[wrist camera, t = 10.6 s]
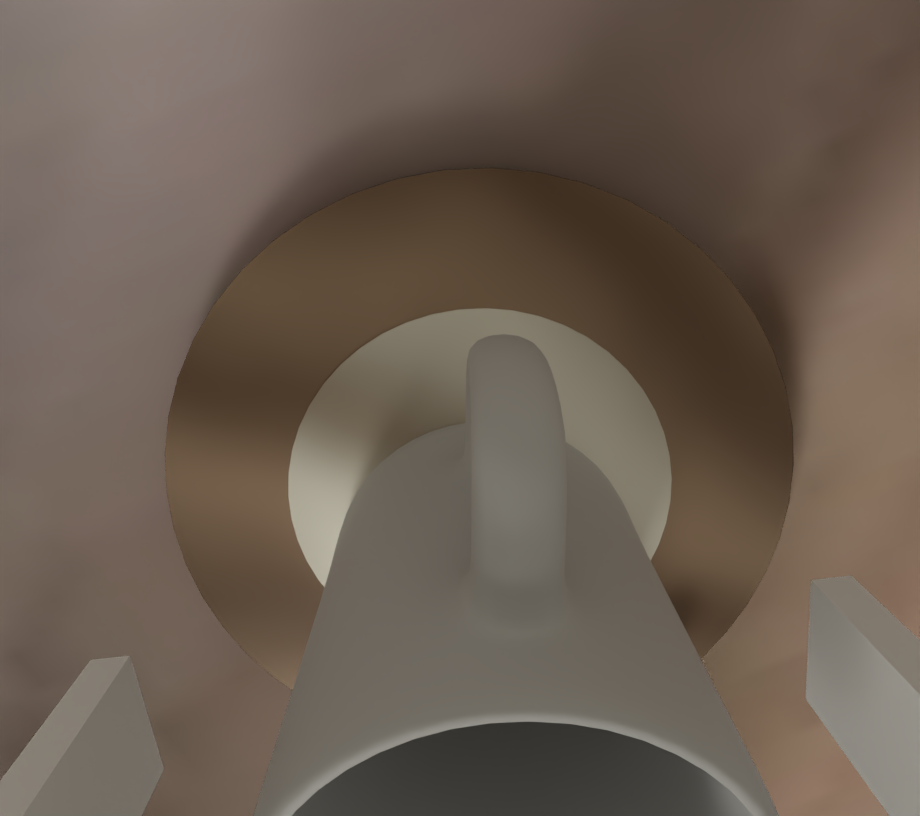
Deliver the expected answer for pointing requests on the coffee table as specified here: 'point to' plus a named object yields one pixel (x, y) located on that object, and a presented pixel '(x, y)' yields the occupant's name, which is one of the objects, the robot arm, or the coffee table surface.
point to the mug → (501, 639)
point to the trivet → (444, 388)
